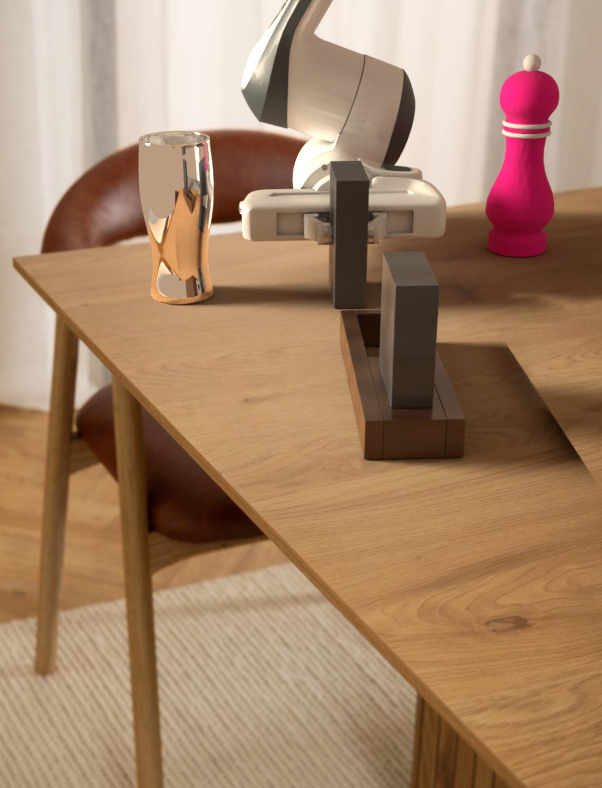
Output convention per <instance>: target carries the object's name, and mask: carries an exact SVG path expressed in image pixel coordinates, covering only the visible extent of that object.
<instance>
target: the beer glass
mask: <svg viewBox="0 0 602 788" xmlns="http://www.w3.org/2000/svg"><path fill="white" fill-rule="evenodd" d="M213 167H214V166H213V156H212V150H211V137H210V136H209V134H206V133H204V132H200V131H193V130H192V131H191V130H166V131H157V132H150V133H148V134H143V135H142V136H139V138H138V186H139V187H138V188H139V197H140V203H141V204H140V205H141V209H142V214H143V218H144V223H145V227H146V232H147V235H148V240H149V244H150V249H151V255H152V256H151V257H152V277H151V286H150V296H151V298H152V299H153V300H155V301H156V302H159V303H162V304H168V305H190V304H197V303H201V302H204V301H206V300H208V299H210V298H211V297H212V296H213V294H214V285H213V281H212V278H211V274H210V266H209V243H210V242H209V241H210V235H211V234H210V233H211V228H212V227H211V226H212V220H213V213H214V212H213V211H214V199H215V178H214V168H213Z"/></svg>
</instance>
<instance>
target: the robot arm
mask: <svg viewBox="0 0 602 788" xmlns="http://www.w3.org/2000/svg"><path fill="white" fill-rule="evenodd" d="M333 2H334V0H284V2H283V4H282V5H281V7H280V8H279V10H278V12H277V14H276V15H275V17H274V18H273V20H272V21H271V23H270V24H269V27H268V28H267V29H266V31H265V33H264V34H262V36H261V37H260V38H259V40H258V41H257V42H256V44H255V45H254V47H253V49H252V50H251V52H250V54H249V56H248V58H247V61H246V62H245V63H246V64H245V66H244V70H243V74H242V81H241V83H242V85H241V94H242V97H243V99H244V101H245V102H246V105H247V106H248V108H249V111H251V113H252V114H253V116H254V117H255V118H256V120H257V122H259V123H263V124H268V125H269V126H270V125H271V126H275V127H279V128H282V129H287V130H288V129H291V130H294V131H296V132H299V133H302V134H304V135H308V136H310V137H312V138H310V139H309V140H308V141H307V142H305V144H304V145H303V146H302V147H301V149H300V150H299V152H298V154H297V157H296V159H295V162H294V166H293V170H292V188H274V189H273V188H270V189H269V188H268V189H259V190H253V191H251V192H249V193H248V194H247V195H246V196H245V198H244V199H243V200H241V201H240V202H239V204H238V211H239V214H240V215H241V225H242V226H241V228H242V238H243V239H245V241H249V242H255V243H258V242H259V243H260V242H261V243H262V242H302V241H303V242H304V241H305V242H306V241H307V242H308V241H309V242H310V241H311V242H312V241H313V242H316V245H317V246H329V245H332V244H333V238H332V235H333V226H332V223H329V212H330V161H361V162H362V164H363V167H364V169H365V172H366V174H367V177H368V179H369V210H368V245H379V244H380V240H408V239H410V240H411V239H412V240H413V239H414V240H415V239H438V238H442V237H443V236H444V235H445V233H446V228H447V200H446V198H445V197H444V195H443V194H442V193H441V191H440V190H439V189H438V188H437V187H436V186H435V185H434V184H433V183H431V182H430V181H428V180H424V177H423V171H422V170H421V169H419V168H418V167H412V166H411V167H410V166H403V165H396V164H397V163H398V161H399V159H400V158H401V156H402V154H403V153H404V150H405V148H406V146H407V143H408V141H409V138H410V136H411V132H412V130H413V129H412V128H413V125H414V121H415V115H416V96H415V92H414V88H413V85H412V82H411V79H410V77H409V74H408V73H407V72H406V70H405V68H401V67H399V66H397V65H394V64H391V63H389V62H387V61H384V60H381V59H380V58H376V57H374V56H371V55H368V54H365V53H360V52H358V51H356V50H352V49H349V48H347V47H344V46H341V45H339V44H336V43H333V42H331V41H328V40H326V39H323V38H321V37H319V36H318V35H317V34H316V33H315V32H316V30H317V28H318V27H319V26H320V23H321V22H322V20H323V19H324V17H325V15H326V13H327V12H328V10H329V8H330V6H332V3H333Z"/></svg>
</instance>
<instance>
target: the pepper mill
mask: <svg viewBox="0 0 602 788" xmlns="http://www.w3.org/2000/svg"><path fill="white" fill-rule="evenodd" d="M522 65H523V68H524V69H523V70H520V71H516V72H515V73H512V74H511V75H510V76H508V77H507V78H506V79H505V81H504V82H503V84H502V86H501V87H500V92H499V96H498V98H499V107H500V109H501V110H502V112H503V113H504V114H505V117H506V118H504V119H503V120H502V130H501V134H502V135H503V136H505V151H504V159H503V161H502V165H501V168H500V170H499V172H498V174H497V176H496V178H495V180H494V182H493V184H492V186H491V188H490V190H489V192H488V195H487V198H486V202H485V209H484V210H485V216H486V218H487V219H488V221H489V222H490V224H491V226H492V227H493V228H491V229H490V230H489V231H488V232H487V245H486V246H487V249H488V250H489V252H491V253H493V254H496V255H498V256H499V255H500V256H504V257H512V258H528V257H529V258H530V257H535V256H539V255H542V254H544V253H545V252H546V250H547V242H548V234H547V232H546V231H545V230H544V228H545V227H546V226H548V224H549V223H550V222H551V221H552V220H553V217H554V216H555V198H554V193H553V189H552V187H551V184H550V182H549V178H548V176H547V171H546V168H545V167H546V166H545V148H546V142H547V138H548V137H549V136H551V134H552V131H551V126H552V125H553V122H552V120H550V117H551V116H552V114H553V113H554V112H555V111H556V110H557V109H558V106H559V104H560V88H559V84H558V83H557V81H556V79H554V77H553V76H552V75H551V74H549V73H547V72H545V71H541V70H540V68H541V65H542V60H541V58H540V56H539V55H538V54H535V53H531V54H528V55H526V56H525V58H524V59H523V63H522Z"/></svg>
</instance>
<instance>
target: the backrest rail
mask: <svg viewBox="0 0 602 788" xmlns="http://www.w3.org/2000/svg"><path fill="white" fill-rule="evenodd" d="M381 264H382V265H381V266H382V270H381V293H380V294H381V297H380V298H381V300H380V309H345V310H344V309H341V310H340V311H339V312H340V313H339V314H340V315H339V317H340V318H339V344H340V350H341V354H342V359H343V365H344V369H345V374H346V379H347V384H348V387H349V388H348V389H349V394H350V398H351V402H352V408H353V413H354V418H355V422H356V427H357V431H358V437H359V441H360V446H361V450H362V456H363V459H364V460H402V459H403V460H405V459H406V460H407V459H444V458H445V459H448V458H451V459H452V458H455V459H456V458H463V457H464V451H465V449H464V448H465V435H466V417H465V414H464V412H463V409H462V407H461V405H460V402H459V399H458V397H457V395H456V392H455V389H454V386H453V385H452V382H451V379H450V378H449V375H448V372H447V370H446V367H445V365H444V363H443V360H442V357H441V355H440V353H439V350H438V347H437V341H438V339H437V338H438V325H439V324H438V322H439V304H440V290H441V289H440V288H441V287H440V284H439V282H438V280H437V277H436V275H435V273H434V271H433V269H432V267H431V265H430V263H429V260H428V258H427V256H426V254H425V252H424V251H423V250H418V251H417V250H415V251H410V250H409V251H383V252H382V263H381ZM366 347H379V355H378V356H368V353H367V351H366V350H367V349H366Z"/></svg>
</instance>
